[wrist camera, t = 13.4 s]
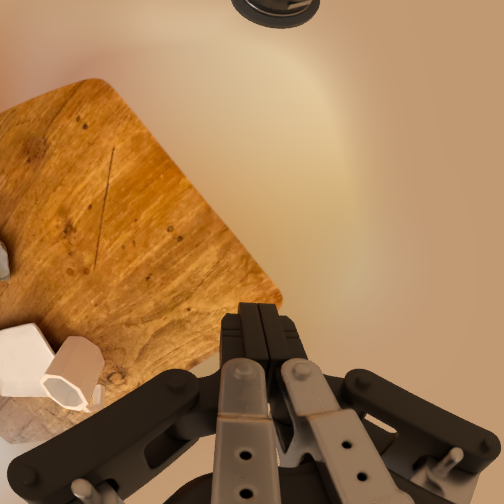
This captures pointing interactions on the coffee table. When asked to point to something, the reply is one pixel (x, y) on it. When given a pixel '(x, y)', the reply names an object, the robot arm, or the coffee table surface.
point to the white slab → (23, 361)
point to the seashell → (4, 263)
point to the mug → (75, 375)
